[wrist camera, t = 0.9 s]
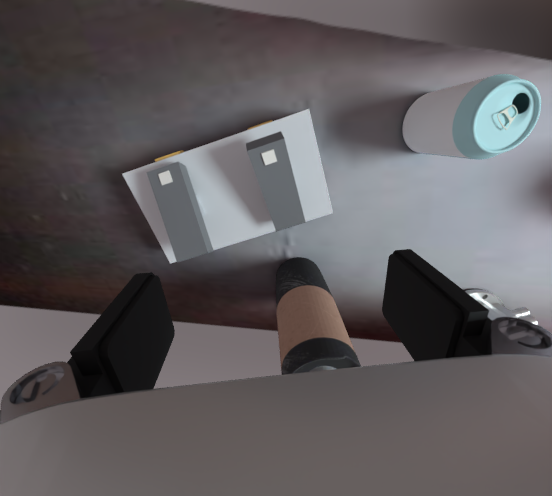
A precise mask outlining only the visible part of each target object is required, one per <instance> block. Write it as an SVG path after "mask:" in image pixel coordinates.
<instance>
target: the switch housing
mask: <svg viewBox="0 0 552 496" xmlns="http://www.w3.org/2000/svg"><path fill="white" fill-rule="evenodd" d="M280 131H281V132H282V134H283V137H284V139H285V143H286V147H287V151H288V155H289V159H290V163H291V167H292V171H293V175H294V178H295V182H296V186H297V190H298V194H299V198H300V202H301V206H302V210H303V214H304V218H305V222H306V221H309V220H312V219H316V218H319V217H322V216H325V215H329V214H332V213H333V210H332V206H331V202H330V198H329V193H328V189H327V185H326V180H325V176H324V172H323V167H322V163H321V159H320V154H319V150H318V146H317V141H316V137H315V133H314V128H313V124H312V120H311V115H310V111H309V109H307V110H304V111H301V112H298V113H296V114H293V115H290V116H287V117H284V118H281V119H278V120H275V121H273V122H272V120H270V121H267V122H264V123H261V124H258V125H255V126H253V127H250V128H248V130H247V131H244V132H241V133H238V134H235V135H232V136H229V137H226V138H224V139H221V140H218V141H215V142H212V143H209V144H206V145H203V146H201V147H198V148H195V149H192V150H189V151H186V152H184V151H183V150H182V151H178V152H175V153H172V154H169V155H166V156H163V157H160V158H158V159H155V161H156V162H154V163H152V164H149V165H146V166H143V167H140V168H137V169H134V170H131V171H129V172H126V173H123V174H122V175H123V177H124V179H125V180H126V182H127V184H128V186H129V188H130V190H131V191H132V193H133V195H134V197H135V199H136V201H137V203H138V204H139V206H140V208H141V210H142V212H143V214H144V216H145V217H146V219H147V221H148V223H149V225H150V227H151V229H152V230H153V232H154V234H155V236H156V238H157V240H158V242H159V243H160V245H161V247H162V249H163V251H164V253H165V255H166V256H167V258H168V260H169V262H170V264H171V263H174V262H177V261H176V258H175V255H174V252H173V249H172V246H171V243H170V240H169V237H168V234H167V231H166V228H165V226H164V223H163V220H162V217H161V214H160V211H159V208H158V205H157V202H156V199H155V196H154V193H153V190H152V187H151V184H150V181H149V178H148V175H147V173H146V172H149V171H152V170H155V169H158V168H161V167H163V166H166V165H169V164H172V163H175V162H180V163H182V164H183V165H185V166H186V168H187V171H188V174H189V177H190V180H191V183H192V186H193V189H194V192H195V195H196V198H197V202H198V205H199V208H200V211H201V214H202V217H203V220H204V223H205V226H206V229H207V232H208V235H209V238H210V241H211V244H212V247H213V250H216V249H219V248H222V247H225V246H229V245H232V244H235V243H238V242H241V241H245V240H248V239H251V238H254V237H258V236H261V235H264V234H267V233H271V232H274V231H276V230H275V227H274V224H273V221H272V219H271V216H270V213H269V211H268V208H267V205H266V202H265V200H264V197H263V194H262V191H261V189H260V186H259V183H258V180H257V178H256V175H255V172H254V169H253V167H252V164H251V161H250V158H249V156H248V153H247V149H246V143H248V142H251V141H254V140H257V139H260V138H263V137H266V136H269V135H271V134H274V133H277V132H280Z"/></svg>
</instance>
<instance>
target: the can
mask: <svg viewBox="0 0 552 496" xmlns="http://www.w3.org/2000/svg"><path fill="white" fill-rule="evenodd" d="M540 110H541V98H540V94H539V91H538V89H537V88H536V86H535V85H534V84H532V83H531V82H529V81H527V80H524V79H520V78H519V77H516V76H514V75H509V74H499V75H494V76H490V77H486V78H483V79H479V80H475V81H471V82H467V83H464V84H460V85H456V86H452V87H448V88H445V89H441V90H437V91H433V92H430V93H427V94H425V95H423V96H421V97H420V98H418V99H417V100H416V101H415V102H414V103H413V104H412V105H411V106H410V108H409V109H408V111H407V113H406V115H405V118H404V121H403V128H402V131H403V137H404V140H405V142H406V144H407V146H408V147H409V148H410V149H411V150H413V151H415V152H417V153H423V154H432V155H441V156H450V157H459V158H468V159H479V160H480V159H487V158H491V157H494V156H496V155H499V154H500V153H503V152H506V151H509V150H511V149H513V148H515V147H516V146H518V145H519V144H520V143H521V142H523V141H524V140H525V139H526V138H527V137H528V135H529V134H530V133H531V131H532V130H533V128H534V127H535V125H536V123H537V120H538V118H539V115H540Z"/></svg>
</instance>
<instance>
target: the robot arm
mask: <svg viewBox="0 0 552 496" xmlns="http://www.w3.org/2000/svg"><path fill="white" fill-rule="evenodd" d="M382 311H383V315H384V317H385V318H386V320H387V321H388V323H389V324H390V326H391V327H392V329H393V330H394V331H395V333H396V334H397V336H398V337H399V339H400V340H401V342H402V343H403V344H404V346H405V347H406V349H407V350H408V352H409V353H410V355H411V356H412V358H413V359H414V361H413V362H403V363H393V364H383V365H373V366H363V367H353V368H343V369H333V370H323V371H314V372H304V373H295V374H285V375H276V376H266V377H257V378H248V379H239V380H230V381H221V382H212V383H203V384H194V385H186V386H176V387H167V388H159V389H153V388H154V386H155V383H156V380H157V378H158V376H159V373H160V371H161V368H162V366H163V363H164V361H165V358H166V356H167V353H168V351H169V348H170V346H171V343H172V341H173V338H174V326H173V323H172V319H171V316H170V313H169V309H168V306H167V302H166V299H165V296H164V292H163V289H162V285H161V282H160V279H159V277H158V276H155V275H154V274H153V273H152V272H151V273H140V274H136V275H134V277H133V278H132V279H131V280H130V281H129V283H128V284H127V285H126V286H125V287H124V289H123V290H122V291H121V292H120V293H119V294H118V296H117V297H116V298H115V299H114V300H113V302H112V303H111V304H110V305H109V306H108V308H107V309H106V310H105V311H104V312H103V314H102V315H101V316H100V317H99V318H98V319H97V321H96V322H95V323H94V324H93V325H92V327H91V328H90V329H89V330H88V332H87V333H86V334H85V335H84V336H83V337H82V339H81V340H80V341H79V342H78V343H77V345H76V346H75V347H74V348H73V349H72V350H71V352H70V353H71V355H72V357H71V359H70V360H69V361H68V362H67V363H66V362H52V363H48V364H45V365H43V366H40V367H38V368H35V369H34V370H32V371H30V372H28V373H27V374H25V375H24V376H22V377H21V378H19V379H18V380H17V381H16V382H14V383H13V384H12V385H11V386H10V387H9V388H8V390H7V391H6V392H5V394H4V395H3V397H2V400H1V410H0V496H552V334H551V333H550V332H549V331H547V330H546V329H544V328H543V327H541V326H539V325H538V323H537V321H536V319H535V318H534V317H533V316H531V315H529V314H530V312H529V310H528V309H527V308H526V307H522V308H518V309H515V310H512V311H511V310H508V309H506V308H505V306H504V304H503V302H502V301H501V300H500V298H498V297H497V296H496V295H494V294H493V293H491V292H489V291H486V290H480V289H473V290H467V291H464V290H462V289H461V288H460V287H459V286H457V285H456V284H455V283H453V282H452V281H451V280H449V279H448V278H447V277H446V276H444V275H443V274H442V273H440V272H439V271H438V270H437V269H435V268H434V267H433V266H431V265H430V264H429V263H428V262H426V261H425V260H424V259H422V258H421V257H420V256H418V255H417V254H416V253H415V252H413V251H412V250H410V249H407V250H396V251H394V252H393V254H391V255H390V256H389V260H388V268H387V276H386V283H385V291H384V299H383V307H382ZM523 316H524V317H523ZM518 317H520V318H518Z"/></svg>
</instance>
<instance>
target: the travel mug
mask: <svg viewBox="0 0 552 496" xmlns="http://www.w3.org/2000/svg"><path fill="white" fill-rule="evenodd" d="M276 303H277V323H278V335H279V346H280V358H281V370H282V375H285V374H295V373H304V372H314V371H323V370H333V369H343V368H353V367H361V365H360V363H359V361H358V358H357V356H356V353H355V351H354V348H353V346H352V343H351V341H350V338H349V336H348V333H347V331H346V328H345V326H344V323H343V321H342V319H341V316H340V314H339V311H338V309H337V306H336V304H335V301H334V299H333V297H332V295H331V293H330V290H329V288H328V286H327V284H326V282H325V280H324V278H323V276H322V274H321V272H320V270H319V268H318V267H317V265H316V264H315V263H314V262H312V261H311V260H309V259H306V258H293V259H290V260H288V261H286V262H285V263H283V264H282V265H281V267H280V268H279V270H278V272H277V275H276Z"/></svg>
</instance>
